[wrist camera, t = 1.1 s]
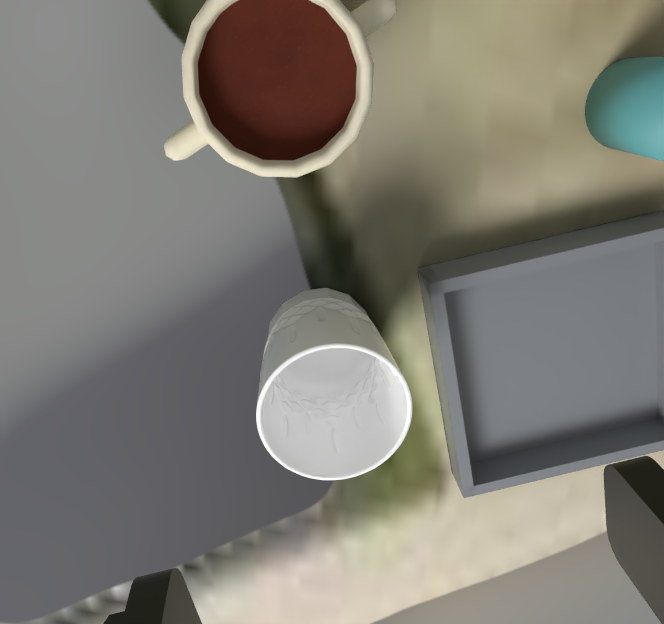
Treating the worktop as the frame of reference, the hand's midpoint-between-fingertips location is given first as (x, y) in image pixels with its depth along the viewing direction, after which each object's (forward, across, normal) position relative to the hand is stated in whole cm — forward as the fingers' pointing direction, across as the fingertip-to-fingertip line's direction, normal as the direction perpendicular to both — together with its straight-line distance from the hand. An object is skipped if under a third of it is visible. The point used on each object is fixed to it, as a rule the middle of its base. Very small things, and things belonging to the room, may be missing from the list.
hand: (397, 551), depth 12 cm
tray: (+28, -14, +13) cm, 34 cm away
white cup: (+28, +1, +8) cm, 29 cm away
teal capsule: (+28, -20, -2) cm, 35 cm away
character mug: (+28, 0, -8) cm, 29 cm away
